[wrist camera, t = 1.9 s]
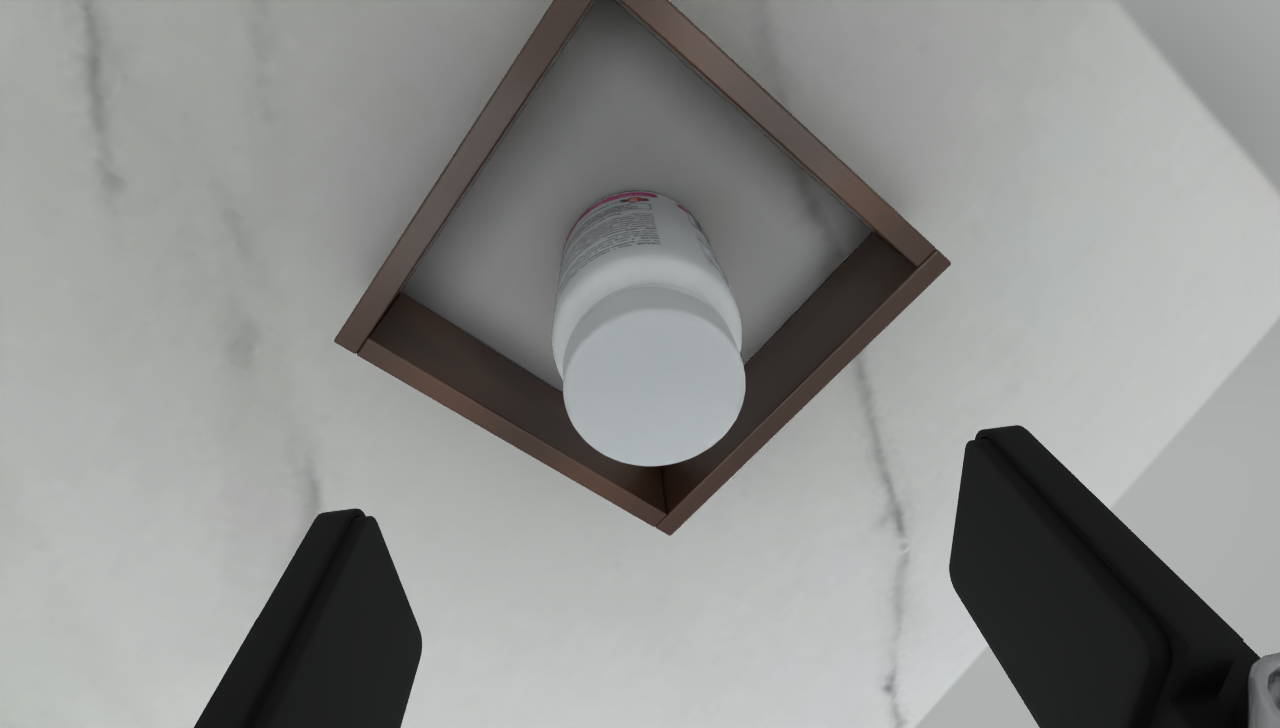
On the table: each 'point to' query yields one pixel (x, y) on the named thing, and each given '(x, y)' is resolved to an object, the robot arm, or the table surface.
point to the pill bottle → (646, 332)
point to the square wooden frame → (774, 377)
